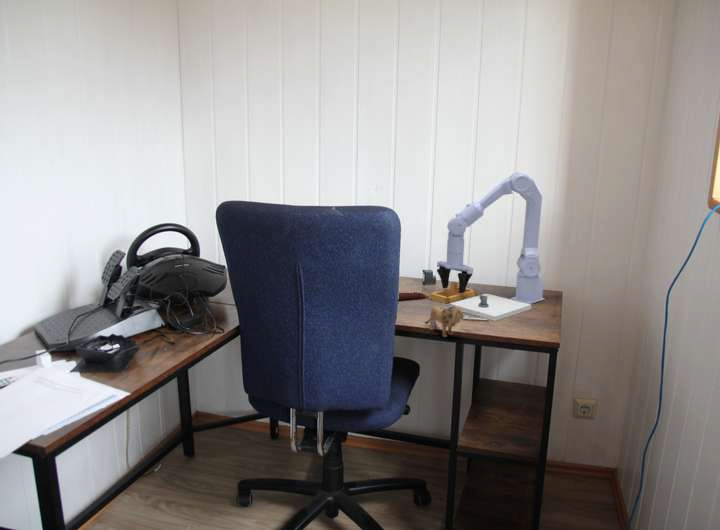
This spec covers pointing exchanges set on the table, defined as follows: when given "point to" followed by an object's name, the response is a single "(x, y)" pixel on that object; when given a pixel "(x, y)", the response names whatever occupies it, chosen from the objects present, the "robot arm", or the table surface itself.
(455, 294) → the orange link
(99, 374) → the table surface
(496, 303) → the board
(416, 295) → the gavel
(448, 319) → the lion figurine
